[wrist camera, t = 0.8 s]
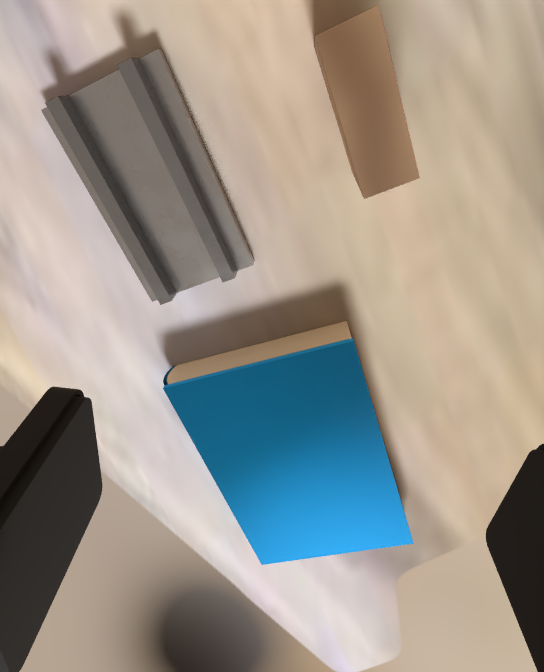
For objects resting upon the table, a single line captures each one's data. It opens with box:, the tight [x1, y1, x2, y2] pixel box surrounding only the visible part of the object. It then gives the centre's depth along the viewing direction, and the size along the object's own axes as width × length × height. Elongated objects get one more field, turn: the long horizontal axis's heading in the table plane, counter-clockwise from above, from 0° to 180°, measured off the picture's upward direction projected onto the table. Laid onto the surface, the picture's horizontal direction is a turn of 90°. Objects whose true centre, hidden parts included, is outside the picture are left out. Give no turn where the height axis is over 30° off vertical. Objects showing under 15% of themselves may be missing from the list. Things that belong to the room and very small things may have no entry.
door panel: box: [314, 5, 420, 199], centre depth 26 cm, size 3×8×8 cm, turn 22°
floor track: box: [41, 49, 255, 305], centre depth 32 cm, size 15×9×2 cm, turn 22°
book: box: [163, 321, 413, 565], centre depth 43 cm, size 17×4×25 cm
